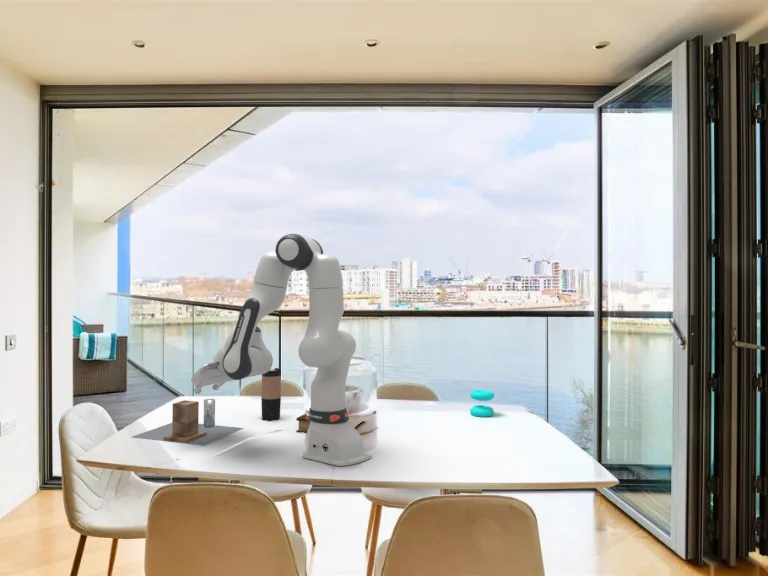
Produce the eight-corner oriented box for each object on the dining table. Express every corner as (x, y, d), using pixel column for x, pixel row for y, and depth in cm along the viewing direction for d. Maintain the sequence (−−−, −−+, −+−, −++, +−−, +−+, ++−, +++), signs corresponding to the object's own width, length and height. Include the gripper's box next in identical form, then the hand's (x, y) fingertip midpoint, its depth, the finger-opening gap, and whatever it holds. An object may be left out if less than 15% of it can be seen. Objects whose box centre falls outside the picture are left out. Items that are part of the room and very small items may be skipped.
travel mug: (270, 422, 217) (270, 371, 217) (257, 419, 221) (257, 369, 221) (284, 418, 223) (285, 369, 223) (271, 415, 227) (272, 367, 227)
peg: (216, 426, 204) (217, 399, 204) (206, 428, 202) (207, 401, 202) (211, 425, 207) (211, 398, 207) (201, 426, 204) (201, 399, 204)
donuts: (495, 390, 237) (492, 394, 227) (495, 413, 237) (492, 418, 227) (472, 388, 240) (468, 392, 230) (472, 411, 240) (468, 416, 230)
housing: (206, 435, 193) (207, 400, 193) (188, 442, 184) (188, 406, 184) (182, 432, 196) (182, 398, 196) (163, 439, 187) (163, 404, 187)
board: (244, 430, 203) (244, 428, 203) (204, 448, 181) (204, 445, 181) (176, 423, 212) (176, 421, 212) (129, 440, 190) (129, 437, 190)
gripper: (212, 370, 178) (189, 401, 181) (250, 364, 197) (229, 392, 200) (200, 357, 180) (178, 388, 183) (239, 352, 199) (218, 380, 202)
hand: (205, 390), depth 192 cm, fingers open, 8 cm apart
